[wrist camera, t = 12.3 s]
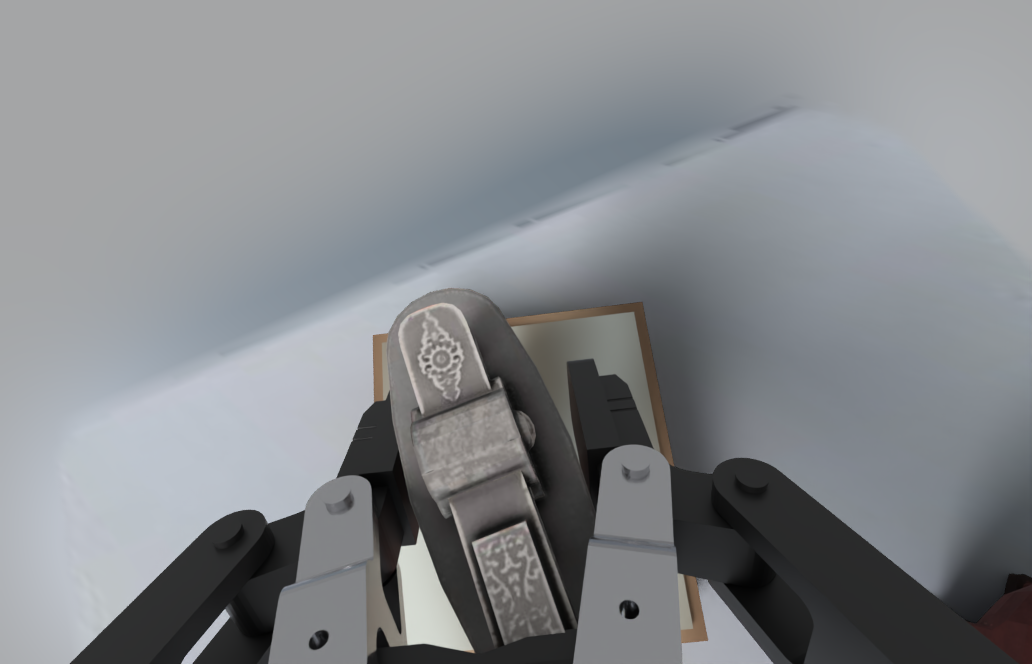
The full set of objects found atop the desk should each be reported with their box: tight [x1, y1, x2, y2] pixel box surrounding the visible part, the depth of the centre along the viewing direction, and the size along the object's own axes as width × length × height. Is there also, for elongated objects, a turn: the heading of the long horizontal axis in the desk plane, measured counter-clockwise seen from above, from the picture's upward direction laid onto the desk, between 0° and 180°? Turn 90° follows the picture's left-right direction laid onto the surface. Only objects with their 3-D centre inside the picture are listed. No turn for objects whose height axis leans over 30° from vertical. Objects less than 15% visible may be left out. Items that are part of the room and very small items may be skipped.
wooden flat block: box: [373, 302, 708, 653], centre depth 21 cm, size 12×13×4 cm
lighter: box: [386, 288, 596, 653], centre depth 12 cm, size 8×3×10 cm, turn 21°
